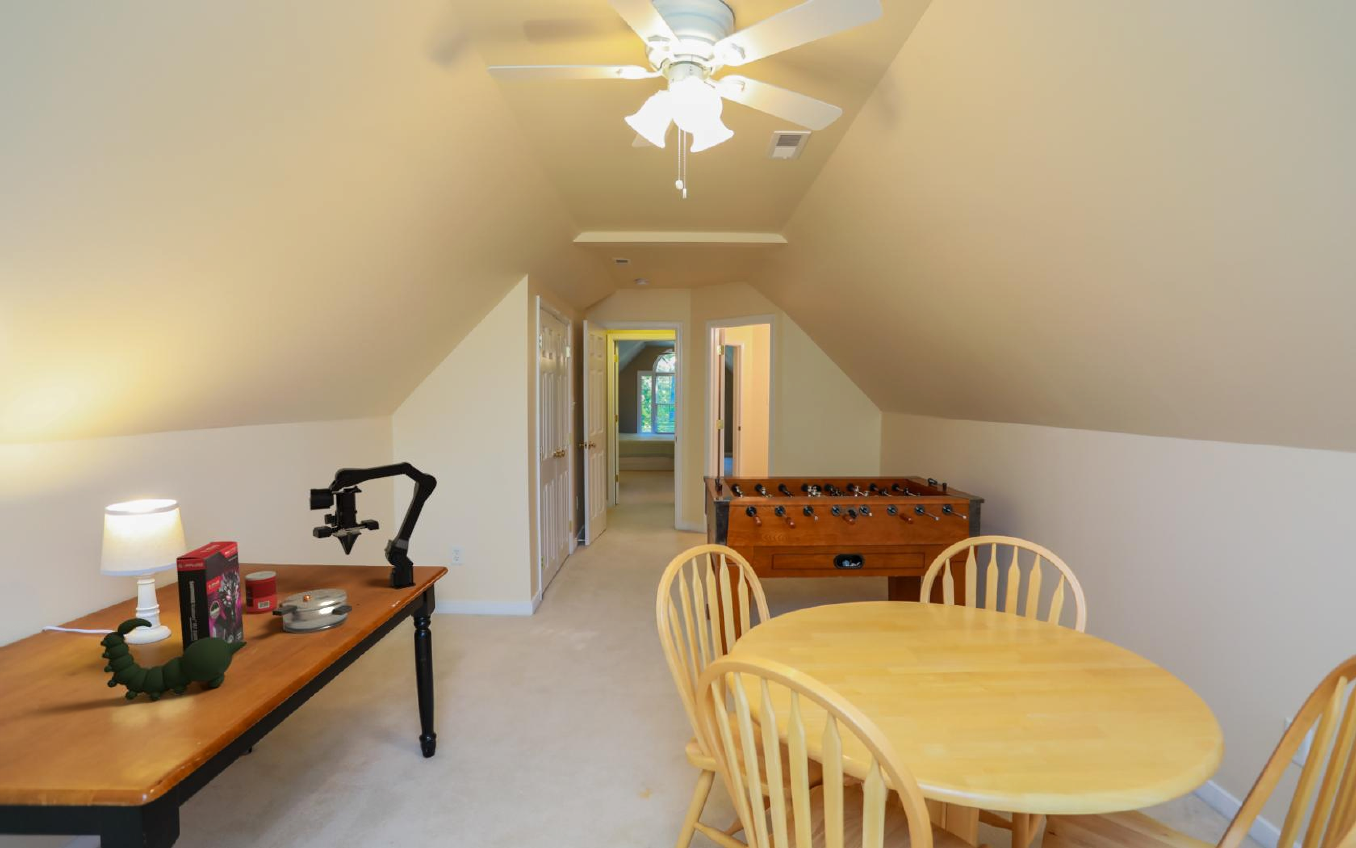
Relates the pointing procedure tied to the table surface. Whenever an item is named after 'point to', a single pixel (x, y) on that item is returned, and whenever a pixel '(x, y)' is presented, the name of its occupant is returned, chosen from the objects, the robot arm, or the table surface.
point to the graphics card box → (210, 593)
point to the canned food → (261, 592)
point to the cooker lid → (311, 601)
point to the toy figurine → (195, 664)
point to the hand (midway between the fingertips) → (347, 554)
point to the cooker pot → (316, 619)
